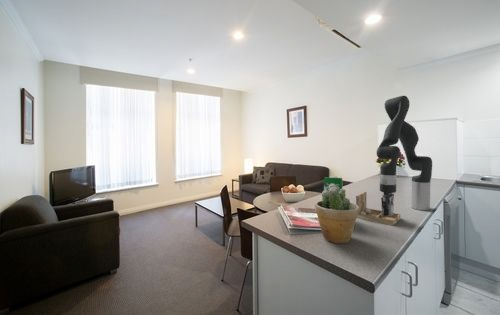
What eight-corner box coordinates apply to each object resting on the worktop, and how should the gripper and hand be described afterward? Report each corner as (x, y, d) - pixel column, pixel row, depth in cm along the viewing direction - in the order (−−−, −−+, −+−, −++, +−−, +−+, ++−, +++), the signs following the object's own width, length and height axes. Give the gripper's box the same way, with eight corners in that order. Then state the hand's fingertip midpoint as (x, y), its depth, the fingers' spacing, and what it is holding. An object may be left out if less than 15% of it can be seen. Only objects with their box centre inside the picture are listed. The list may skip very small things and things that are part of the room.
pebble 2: (366, 212, 129) (366, 207, 129) (372, 213, 127) (372, 208, 127) (364, 213, 127) (364, 208, 127) (370, 214, 125) (370, 209, 125)
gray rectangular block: (384, 212, 119) (384, 202, 119) (393, 214, 116) (393, 203, 115) (381, 214, 116) (381, 203, 116) (391, 216, 113) (391, 205, 112)
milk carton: (342, 218, 122) (342, 175, 121) (342, 224, 114) (341, 177, 112) (325, 216, 126) (325, 174, 124) (324, 222, 118) (323, 177, 116)
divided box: (365, 212, 131) (365, 191, 130) (400, 219, 118) (400, 196, 117) (356, 218, 121) (356, 196, 121) (393, 226, 108) (393, 201, 107)
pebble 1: (360, 215, 124) (360, 210, 124) (366, 217, 121) (366, 211, 121) (358, 217, 122) (358, 211, 121) (364, 218, 119) (364, 213, 119)
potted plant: (310, 230, 107) (310, 181, 106) (348, 229, 107) (348, 180, 105) (322, 247, 89) (321, 188, 87) (367, 247, 88) (367, 187, 87)
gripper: (384, 180, 122) (383, 209, 123) (375, 184, 113) (375, 215, 114) (399, 181, 117) (399, 212, 118) (392, 185, 107) (391, 219, 108)
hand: (387, 213), depth 116 cm, fingers closed on gray rectangular block, 4 cm apart
